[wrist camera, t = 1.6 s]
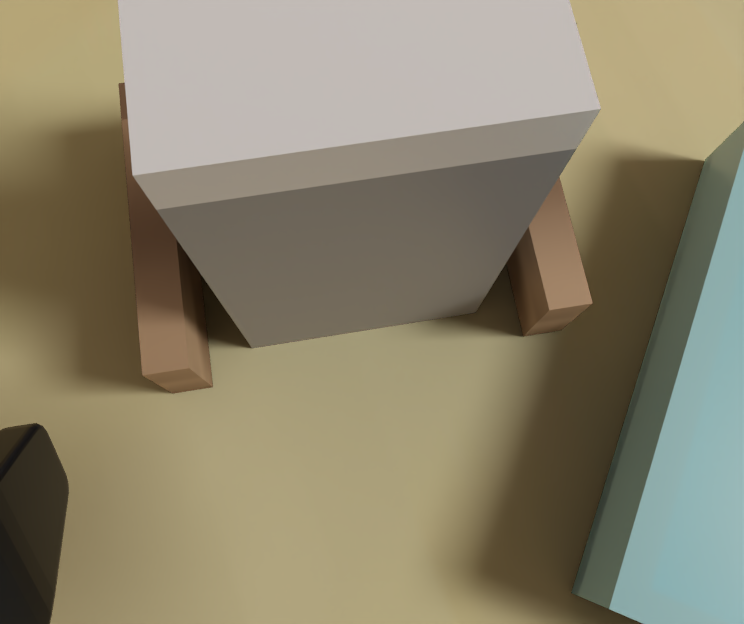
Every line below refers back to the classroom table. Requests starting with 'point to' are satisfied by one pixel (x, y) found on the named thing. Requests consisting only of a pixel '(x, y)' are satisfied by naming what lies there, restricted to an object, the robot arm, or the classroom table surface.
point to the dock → (186, 305)
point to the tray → (683, 433)
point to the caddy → (351, 148)
